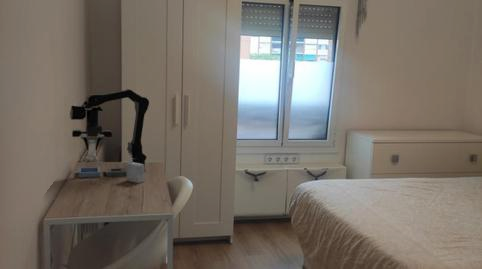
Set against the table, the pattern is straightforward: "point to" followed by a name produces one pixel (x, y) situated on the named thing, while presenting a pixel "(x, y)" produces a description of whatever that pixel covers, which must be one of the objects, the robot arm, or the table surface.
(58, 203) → the table surface
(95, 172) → the parts tray
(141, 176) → the medicine box
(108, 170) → the grey flat square frame
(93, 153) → the grey rounded piece
